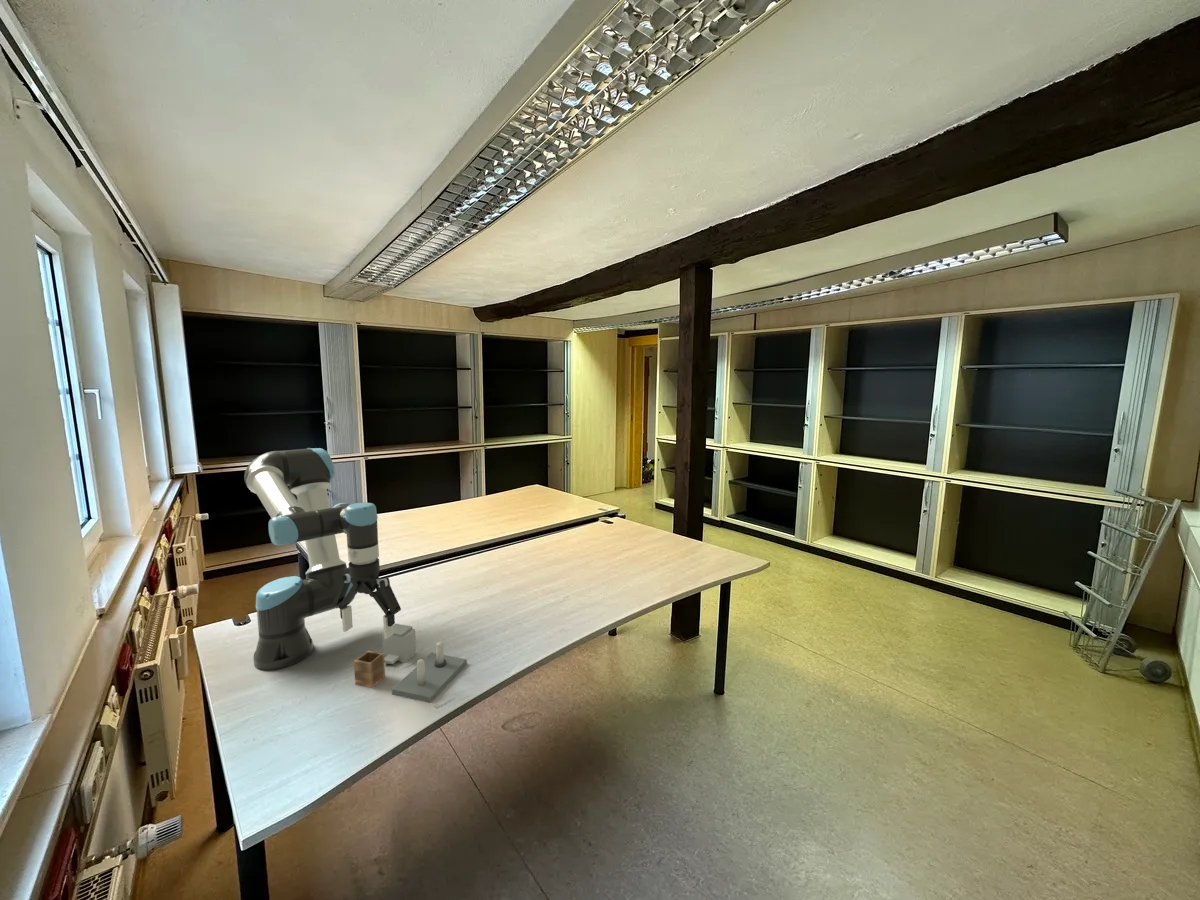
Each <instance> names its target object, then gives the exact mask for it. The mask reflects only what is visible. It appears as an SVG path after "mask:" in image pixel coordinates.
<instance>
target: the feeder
mask: <svg viewBox="0 0 1200 900" xmlns="http://www.w3.org/2000/svg"><path fill="white" fill-rule="evenodd" d="M381 639H382V641H381V645H382V653H384V663H385V664H390V665H394V664H395V663H396V662H397V661H398V662H401V663H402V662H403V663H407V662H408V661H409V660H410V659H411V658H412V657H413V656H415V655H416V654H417V644H416V643H417V642H416V629H415V628H413V626H412V625H406V624H400V623H395V624H394V625H393V635H391V636H390V637H389V638H387V639H384V631H383V632H382V633H381Z"/></svg>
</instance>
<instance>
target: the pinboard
mask: <svg viewBox="0 0 1200 900" xmlns="http://www.w3.org/2000/svg"><path fill="white" fill-rule="evenodd" d="M435 647H436V649H435V650H436V652H431V653H429V655H428V656H426V657H425V658H424V659H423V658H420V659H418V660H417V661H416V666H415V668H413V670H411V671H410V672H409V673H408V674H407V675H406V676H405V677H403V678H402V679H401V680H400V681H399V682H398V683H397V684H396V685H394V686H393V688H391V694H392V695H395V696H398V697H404V698H407V699H413V700H417V701H421V702H427V703H432V702H433V701H434V700H435V699H436V698H437V697H438V695H439V694H440V693H442V691H443V690H444V689H445V688H446V687H447V686H448V685H449V684H450V682H452V680H453V679H454V678H455V677H456V676H457V675H458V674H459V673H460V672H461V670H463V668H465V666H467V664H468V662H467V661H468V659H466V658H463V657H457V656H451V655H447V654H444V653H445V652H444V651H445V650H444V643H443V642H442V641H438V642H437V643H436V645H435Z"/></svg>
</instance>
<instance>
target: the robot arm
mask: <svg viewBox="0 0 1200 900" xmlns="http://www.w3.org/2000/svg"><path fill="white" fill-rule="evenodd" d="M243 477H244V479H243V480H244V483H245V485H246V487H247V488H248V490H250V491H249V492H251V493H254V494H256V496H257V497H258V499H259V500H260V502H261V504H262V506H263V507H264V508H265V510H266V512H267V513H268V515H269V516H270V519H269V521H268V536H269V538H270V542H271V543H272V544H273V545H275V546H282V545H292V544H295V543H299V542H305V547H306V552H307V560H308V564H309V568H308V569H307V571H305V578H304V579H302V578H301V577H300V576H297V575H293V576H292V575H291V576H285V577H280V578H277V579H275V580H274V579H273V580H272V581H270V582H268V583H266V584H264V585H263V586H262V587H260V588H259V589H258V591H257V592H256V594H255V595H256V596H255V609H256V617H257V619H256V620H257V628H258V630H257V631H258V641H257V644H256V648H255V651H254V654H253V665H254V667H255V668H257V669H259V670H266V671H269V670H270V671H272V670H278V669H283V668H288V667H289V666H290V667H291V666H292V665H296V664H297V663H299V662H301V661H303V660H305V659H306V658H308V657H309V656H310V655H312V652H313V651H314V643H313V642H314V641H313V639H312V638H311V637H312V636H311V635H310V633H309V631H308V629H307V627H306V624H305V623H306V622H305V621H306V620H305V619H306V618H309V617H312V616H315V615H319V614H322V613H325V612H328V611H332V610H336V609H339V612H340V613H339V615H340V619H342V620H341V621H342V632H343V633H346V632H347V631H349V630H351V629H352V628H354V626H353V613H352V612H353V611H352V610H353V609H352V605H350V604H351V603H353V601H354V599H355V597H356V596H357V594H364V595H369V596H370V597H371V598H373V600H375V602H376V603H377V605H378V606H379V608H380V609H381V610H382V612H383V613H384V615H383V617H382V620H383V632H384V639H387V638H389V637H390V636H391V635H393V625H395V624H396V623H395V622H396V621H395V615H396V614H397V613H398V612H400V611H401V610H402V608H401V605H400V603H399V602H398V600H397V597H396V595H395V593H394V591H393V588H392V587H391V583H390V577H385V578H380V577H379V573H380V570H381V569H380V559H379V558H380V550H379V534H378V533H379V532H378V518H379V517H378V514H377V506H376V505H375V504H374V503H373V502H372V503H371V502H356V503H348V502H347V503H346V502H340V503H336V504H335V505H333V506H332V507H330V502H329V498H328V493H327V492H328V491H327V490H328V488H329V487H330V485H331V481H333V479H334V478H335V466H334V462H333V459H332V458H331V456H330V454H329V453H328V452H327V450H325V449H323V448H322V447H321V448H320V447H318V448H317V447H315V448H311V447H307V448H297V449H287V450H273V451H268V452H265V453H262V454H259V456H257V457H255V458H254V459H252V461H251V462H250V463H249V464H248V466H247V467H246V469H245V471H244V476H243ZM340 534H346V543H347V545H346V546H347V557H348V558H347V559H348V562H349V563H348V564H347V562H346V561H343V560H341V558H340V553H339V548H338V543H337V537H336V535H340ZM347 565H348V567H347Z"/></svg>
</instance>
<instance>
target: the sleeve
mask: <svg viewBox="0 0 1200 900" xmlns="http://www.w3.org/2000/svg"><path fill="white" fill-rule="evenodd" d="M385 664H386V663H384V653H383V652H378V651H374V650H367V651H365V652H364V653H363V654H361V655H360V656H359V657H357V658H356V659H354V660H353V669H354V671H353V672H354V683H355V685H358V686H362V687H367V688H373V687H374V686H376V684H378V683H379V682H380V681H381V680H382V679H384V677H386V669H385V668H386V667H385Z"/></svg>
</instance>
